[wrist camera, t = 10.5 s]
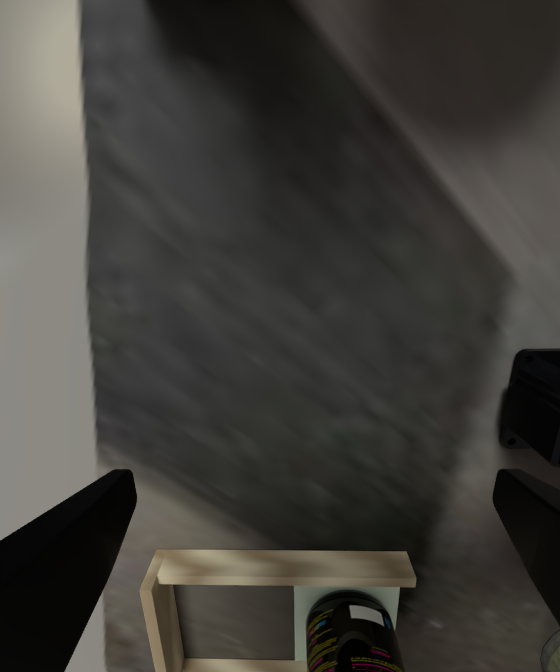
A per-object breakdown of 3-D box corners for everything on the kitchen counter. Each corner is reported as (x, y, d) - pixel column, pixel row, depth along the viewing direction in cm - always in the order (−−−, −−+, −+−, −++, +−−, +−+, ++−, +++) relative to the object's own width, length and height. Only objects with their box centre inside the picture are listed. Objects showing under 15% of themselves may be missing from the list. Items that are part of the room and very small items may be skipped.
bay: (176, 664, 28) (163, 712, 26) (156, 549, 25) (139, 590, 22) (392, 668, 28) (404, 718, 25) (406, 551, 24) (422, 594, 21)
